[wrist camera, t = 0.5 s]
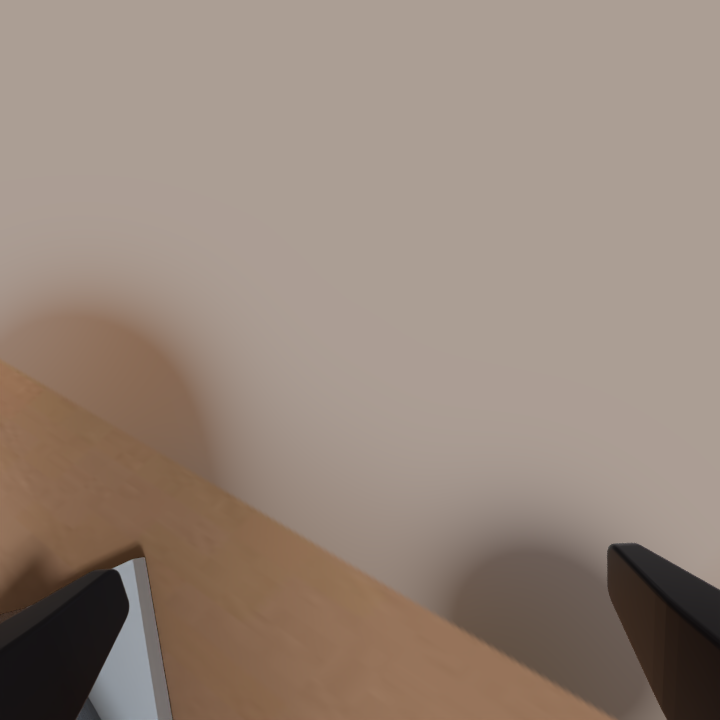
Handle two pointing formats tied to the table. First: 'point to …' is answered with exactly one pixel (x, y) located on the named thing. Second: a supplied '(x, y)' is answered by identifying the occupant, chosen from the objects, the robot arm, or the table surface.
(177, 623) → the table surface
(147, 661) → the door panel
